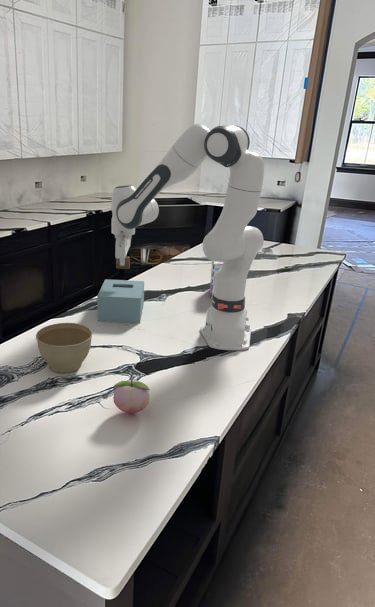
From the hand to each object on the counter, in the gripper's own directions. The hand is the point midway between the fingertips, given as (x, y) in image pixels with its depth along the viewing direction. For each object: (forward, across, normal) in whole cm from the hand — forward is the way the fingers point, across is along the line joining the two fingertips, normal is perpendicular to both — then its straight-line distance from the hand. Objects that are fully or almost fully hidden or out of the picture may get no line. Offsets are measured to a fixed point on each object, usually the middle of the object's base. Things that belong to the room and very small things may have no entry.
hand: (123, 263), depth 177 cm
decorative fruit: (+19, -71, -10) cm, 74 cm away
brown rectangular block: (+2, 0, 0) cm, 2 cm away
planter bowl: (+19, -48, +12) cm, 53 cm away
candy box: (+19, +23, -40) cm, 50 cm away
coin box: (+19, -3, 0) cm, 19 cm away
